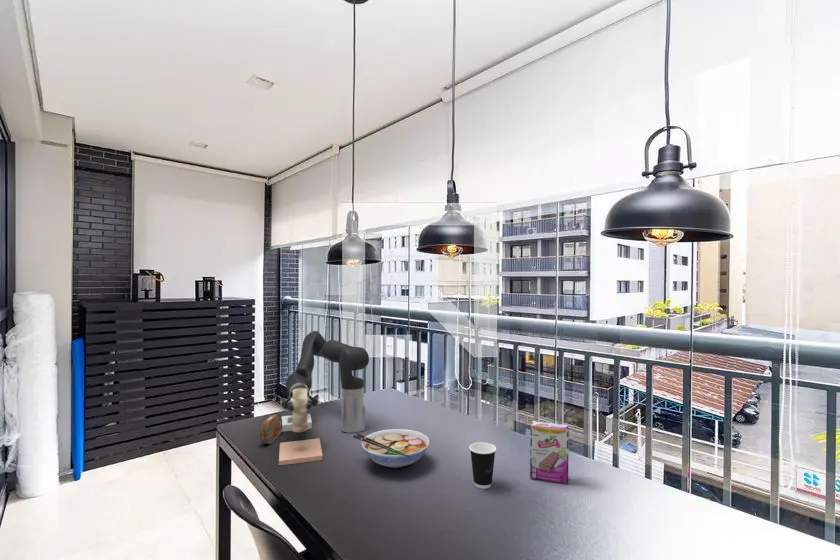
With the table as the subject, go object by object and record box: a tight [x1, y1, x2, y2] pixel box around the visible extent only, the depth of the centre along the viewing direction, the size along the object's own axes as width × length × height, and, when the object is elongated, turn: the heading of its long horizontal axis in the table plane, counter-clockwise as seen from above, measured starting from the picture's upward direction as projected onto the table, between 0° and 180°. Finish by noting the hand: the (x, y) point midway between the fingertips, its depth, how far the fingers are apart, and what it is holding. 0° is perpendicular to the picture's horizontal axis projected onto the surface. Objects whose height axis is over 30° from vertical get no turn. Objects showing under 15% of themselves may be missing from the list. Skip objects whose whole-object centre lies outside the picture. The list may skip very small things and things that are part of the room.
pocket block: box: [281, 413, 313, 433], centre depth 171 cm, size 12×12×2 cm
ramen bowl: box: [352, 428, 431, 469], centre depth 135 cm, size 25×23×8 cm
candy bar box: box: [529, 420, 570, 485], centre depth 124 cm, size 11×5×16 cm, turn 71°
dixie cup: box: [469, 441, 497, 490], centre depth 120 cm, size 8×8×11 cm
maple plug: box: [292, 388, 308, 433], centre depth 143 cm, size 5×5×14 cm
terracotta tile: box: [278, 438, 324, 466], centre depth 143 cm, size 14×16×2 cm
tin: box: [259, 414, 282, 445], centre depth 156 cm, size 15×3×8 cm, turn 177°
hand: (300, 407), depth 141 cm, fingers closed on maple plug, 5 cm apart
